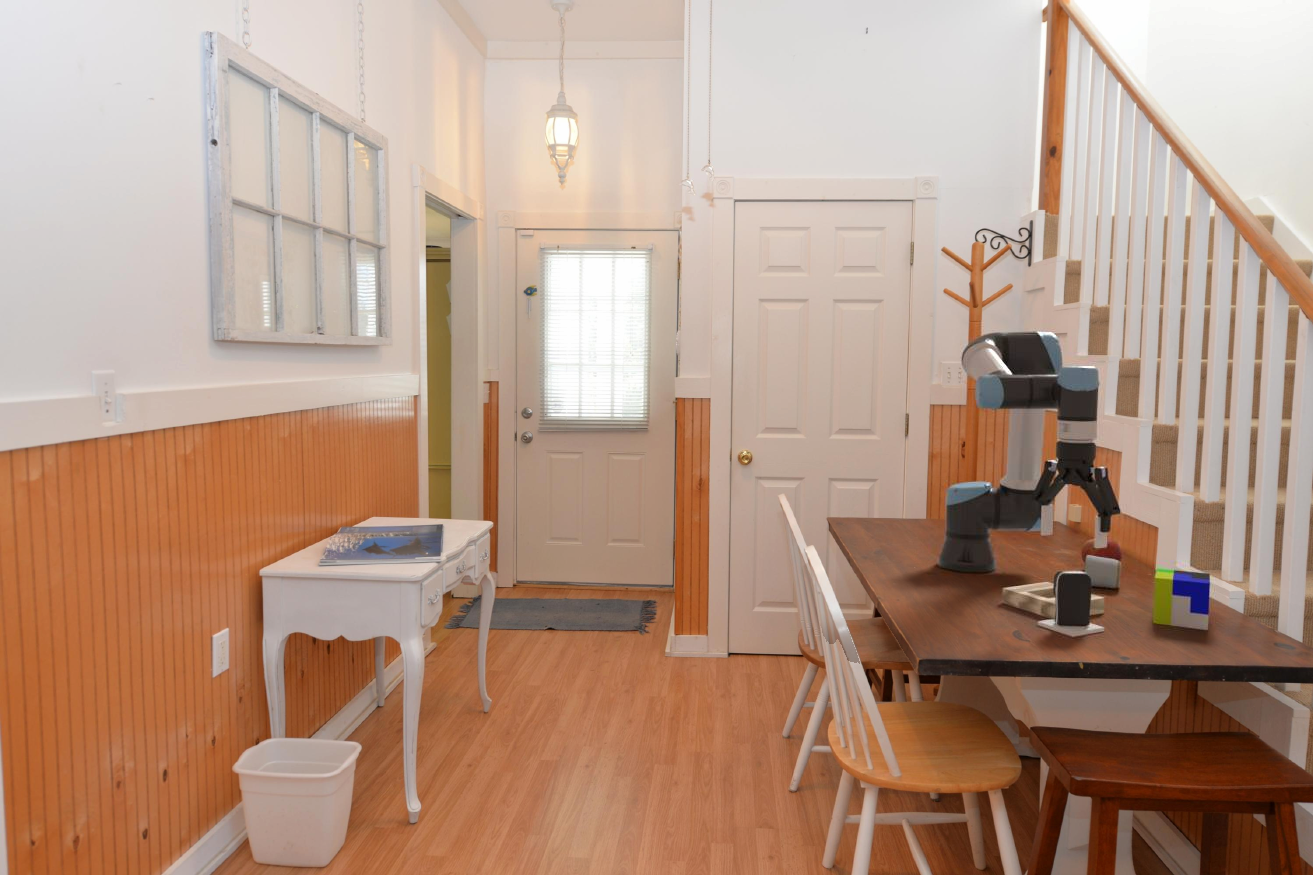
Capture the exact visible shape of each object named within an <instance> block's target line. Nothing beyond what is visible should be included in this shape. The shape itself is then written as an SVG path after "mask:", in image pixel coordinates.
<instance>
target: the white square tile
mask: <svg viewBox="0 0 1313 875" xmlns="http://www.w3.org/2000/svg"><path fill="white" fill-rule="evenodd" d="M1037 626H1039V627H1042V628H1045V629H1049V630H1052V631H1054V632H1057V633H1061V634H1062V635H1067V636H1069V637H1073V638H1074V637H1079V636H1080V637H1081V636H1085V635H1090V634H1096V633H1101V632H1105V627H1103V626H1100V625H1097V624H1095V623H1091V622H1090V625H1086V626H1064V625H1057V624H1056V623H1055V619H1051V618H1049V619H1045V620H1039V621H1037Z"/></svg>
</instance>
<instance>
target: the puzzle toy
mask: <svg viewBox="0 0 1313 875" xmlns="http://www.w3.org/2000/svg"><path fill="white" fill-rule="evenodd" d="M1210 577H1211V574H1210V573H1206V572H1199V571H1198V572H1196V571H1186V570H1176V569H1169V568H1168V569H1166V568H1156V571H1155V576H1154V588H1153V589H1154V590H1153V591H1154V592H1153V594H1154V596H1153V614H1152V616H1153V618H1152V619H1153V620H1152V623H1153V624H1158V625H1166V626H1174V627H1180V628H1182V627H1183V628H1189V629H1197V630H1202V631H1203V630H1205V631H1208V630H1209V617H1210V616H1209V612H1210V592H1211V591H1210V589H1211V588H1210V587H1211V578H1210Z"/></svg>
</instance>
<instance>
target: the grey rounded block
mask: <svg viewBox="0 0 1313 875" xmlns="http://www.w3.org/2000/svg"><path fill="white" fill-rule="evenodd" d="M1084 572H1085V573H1087V574H1088V575H1089V576H1090V578H1091V587H1096V588H1104V587H1105V588H1107V589H1118V588H1120V585H1121V577H1122V576H1121V574H1122V561H1121V562H1120V561H1118V560H1115V559H1109V558H1103V557H1096V556H1091V555H1087V556H1086V561H1085V563H1084Z"/></svg>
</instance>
